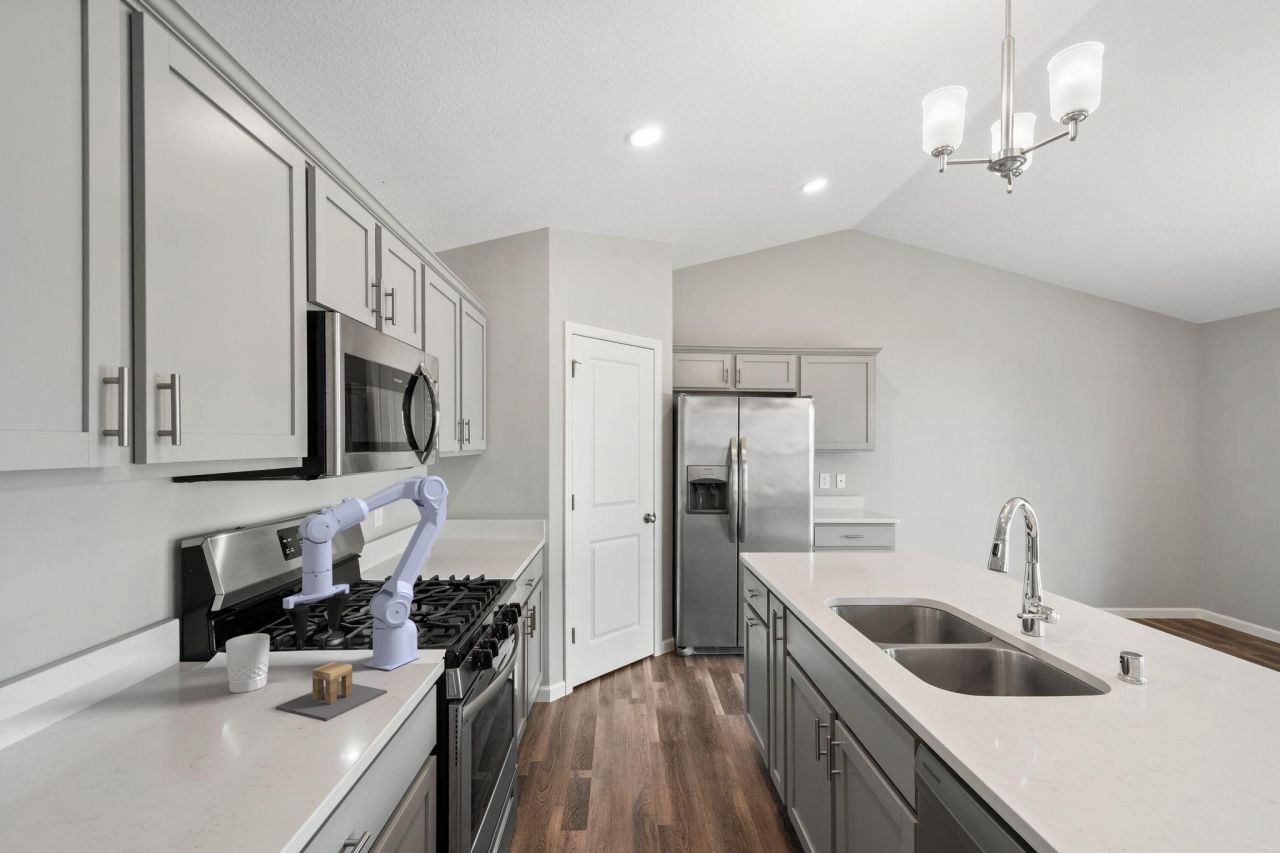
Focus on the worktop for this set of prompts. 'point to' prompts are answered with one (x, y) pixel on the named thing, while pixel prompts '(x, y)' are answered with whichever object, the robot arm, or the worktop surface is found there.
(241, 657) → the white cup
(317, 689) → the tan notched block
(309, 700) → the mat
